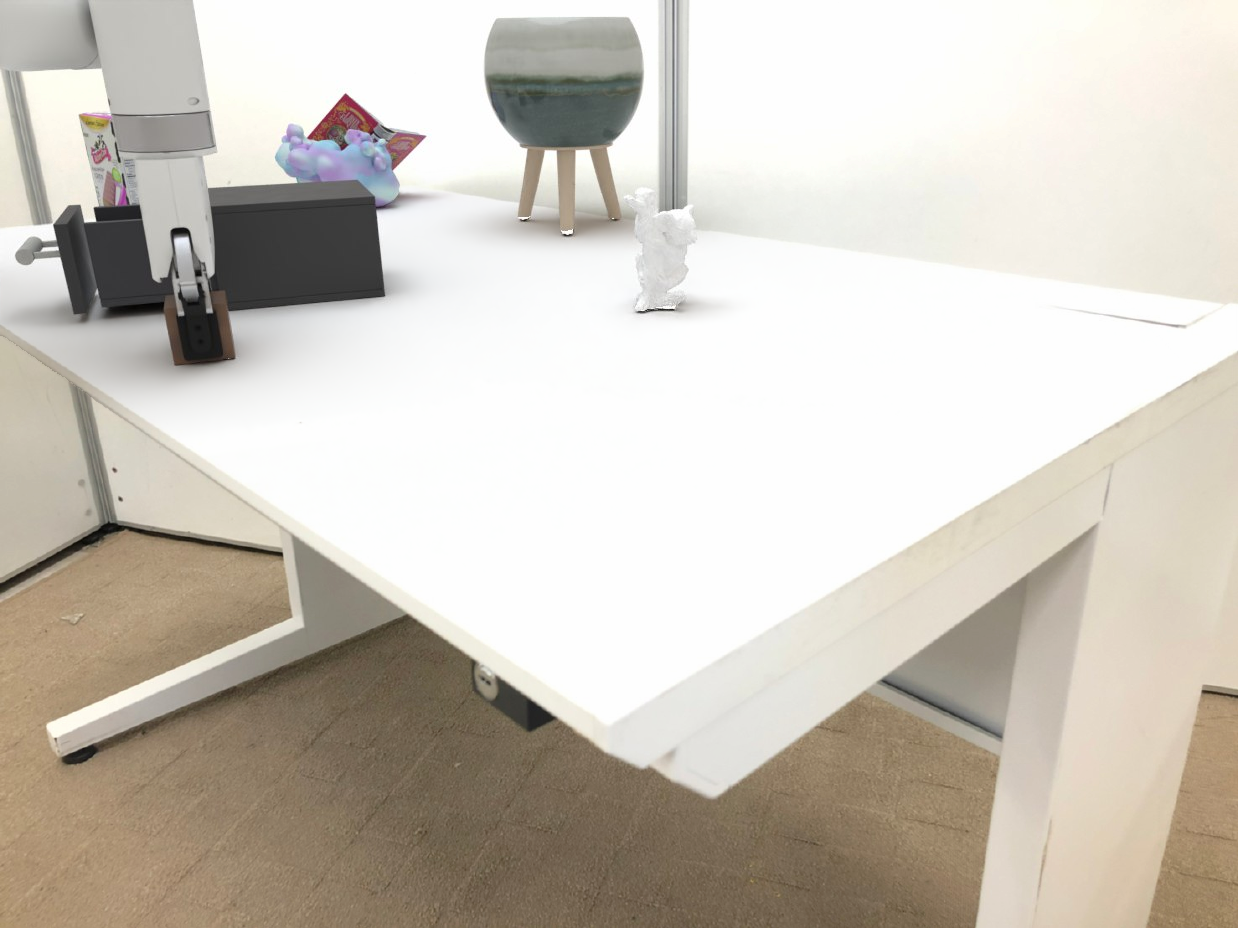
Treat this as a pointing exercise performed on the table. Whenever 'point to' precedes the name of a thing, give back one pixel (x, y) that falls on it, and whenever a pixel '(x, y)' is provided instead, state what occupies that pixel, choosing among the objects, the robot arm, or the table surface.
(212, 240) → the robot arm
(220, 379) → the table surface
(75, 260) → the drawer
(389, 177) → the pastel bubbly blob
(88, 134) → the candy bar box
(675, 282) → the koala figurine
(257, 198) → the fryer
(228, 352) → the block
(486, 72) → the planter
